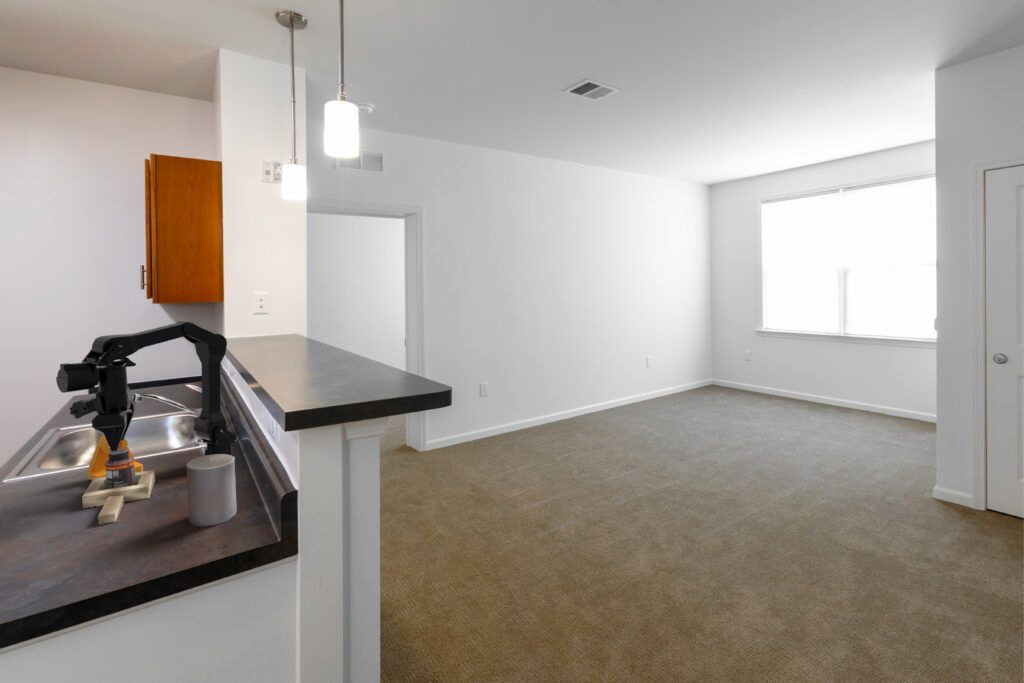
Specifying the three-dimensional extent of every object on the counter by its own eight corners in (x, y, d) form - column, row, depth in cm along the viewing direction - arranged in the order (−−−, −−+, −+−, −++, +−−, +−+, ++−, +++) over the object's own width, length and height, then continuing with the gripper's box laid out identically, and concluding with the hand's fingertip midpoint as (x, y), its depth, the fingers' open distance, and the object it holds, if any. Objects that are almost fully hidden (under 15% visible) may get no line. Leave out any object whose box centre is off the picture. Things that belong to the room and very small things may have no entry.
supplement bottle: (132, 486, 134) (129, 445, 133) (139, 492, 131) (136, 450, 129) (104, 493, 130) (101, 451, 128) (110, 500, 126) (107, 456, 125)
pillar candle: (184, 516, 118) (180, 454, 116) (230, 503, 125) (227, 445, 123) (195, 531, 111) (191, 466, 109) (243, 517, 118) (240, 456, 116)
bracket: (98, 486, 134) (94, 443, 133) (88, 480, 138) (84, 438, 137) (144, 474, 143) (141, 433, 142) (134, 469, 147) (131, 429, 146)
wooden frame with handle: (155, 480, 139) (154, 469, 138) (142, 517, 117) (141, 504, 117) (95, 489, 132) (94, 478, 132) (70, 529, 111) (68, 516, 110)
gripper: (81, 381, 131) (85, 440, 133) (61, 396, 115) (66, 462, 116) (134, 378, 136) (137, 434, 138) (122, 391, 120) (126, 454, 122)
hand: (117, 445), depth 128 cm, fingers open, 9 cm apart
